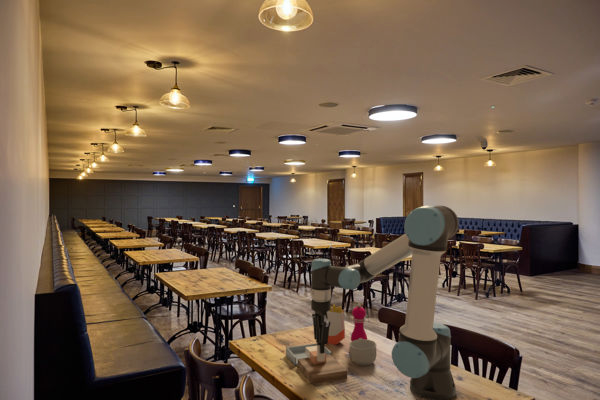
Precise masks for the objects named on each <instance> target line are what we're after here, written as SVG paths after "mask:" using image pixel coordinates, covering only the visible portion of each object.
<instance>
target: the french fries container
mask: <svg viewBox="0 0 600 400" xmlns="http://www.w3.org/2000/svg"><path fill="white" fill-rule="evenodd" d="M342 308H343V307H342V306H336V304H333V305H332V306H331V309H330V310H329V311H328V312H327V316H328V319H327V320H328V322H329V321H330V323H331V324H330V327H329V335H328V344H330V345H333V346H334V345H336V346H337V344H339V343H340V342H342V341H343V340H344V339H345V338H346V333H345V332H346V329H345V327H346V326H345V314H344V313H345V312H344V310H343V309H342Z"/></svg>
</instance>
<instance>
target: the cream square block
mask: <svg viewBox="0 0 600 400" xmlns="http://www.w3.org/2000/svg"><path fill="white" fill-rule="evenodd" d="M311 351H317V346H311V347H305V355H306V356H307V357H308V358H309V359H310V352H311Z"/></svg>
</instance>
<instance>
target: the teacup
mask: <svg viewBox="0 0 600 400" xmlns="http://www.w3.org/2000/svg"><path fill="white" fill-rule="evenodd" d="M348 346H349V353H350V358H351V361H352V362H354V363H355V364H356V365H357V366H362V367H363V366H364V367H367V366H370V365H372V364H373V363H374V362H375V361H376V360H377V359H376V358H377V343H376V342H375V341H374V340H371V339H368V338H367V339H362V338H359V340H354V341H350V342H349V345H348Z"/></svg>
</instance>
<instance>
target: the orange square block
mask: <svg viewBox="0 0 600 400" xmlns="http://www.w3.org/2000/svg"><path fill="white" fill-rule="evenodd" d="M310 360H311V361H312V362H313V363H314V364H318V363H325V362H326V354H325V361H320V362H318V361H317V351H311V352H310Z"/></svg>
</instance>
